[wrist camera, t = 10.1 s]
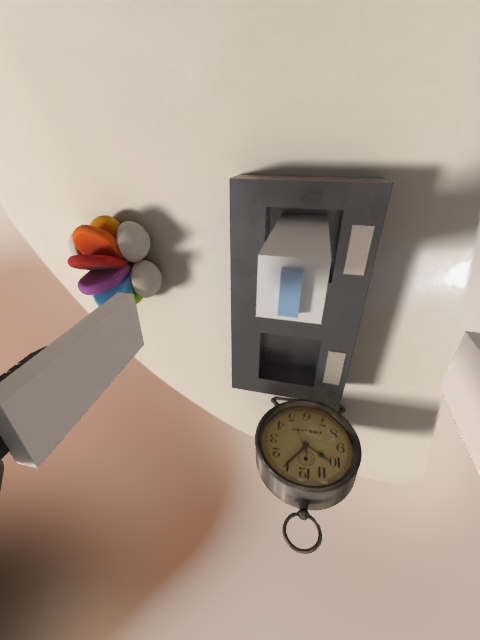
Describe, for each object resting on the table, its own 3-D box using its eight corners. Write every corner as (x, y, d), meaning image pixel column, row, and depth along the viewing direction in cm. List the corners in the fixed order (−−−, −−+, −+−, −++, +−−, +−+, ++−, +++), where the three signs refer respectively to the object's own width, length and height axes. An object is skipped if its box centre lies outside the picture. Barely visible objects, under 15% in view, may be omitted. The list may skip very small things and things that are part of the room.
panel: (240, 174, 27) (229, 178, 24) (384, 178, 24) (393, 183, 21) (239, 368, 38) (231, 388, 35) (338, 383, 36) (339, 406, 32)
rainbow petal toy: (146, 206, 30) (102, 222, 24) (173, 293, 35) (141, 326, 29) (78, 218, 33) (23, 235, 27) (111, 298, 37) (70, 328, 31)
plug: (281, 213, 27) (256, 258, 16) (327, 215, 26) (331, 264, 16) (278, 256, 29) (253, 321, 18) (321, 259, 28) (321, 329, 18)
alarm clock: (355, 399, 36) (376, 554, 23) (348, 430, 39) (363, 585, 25) (265, 387, 39) (234, 520, 25) (264, 416, 41) (236, 552, 28)
